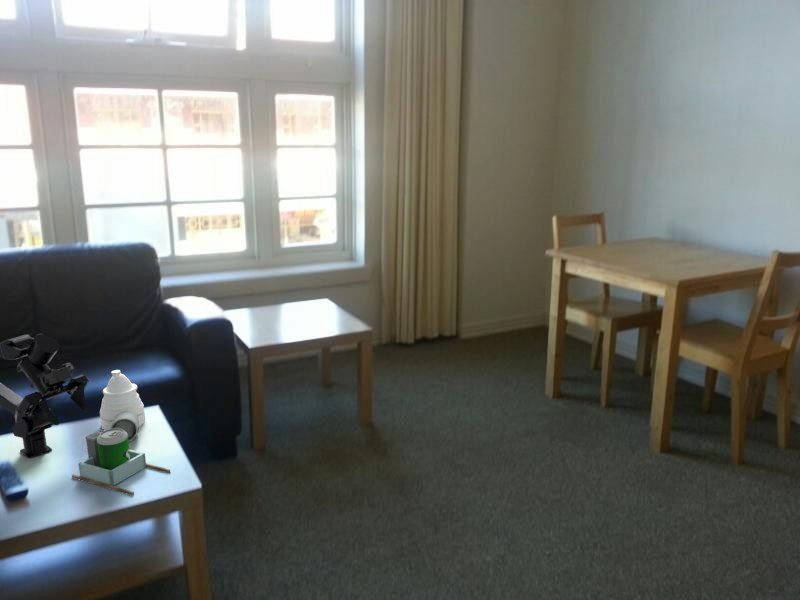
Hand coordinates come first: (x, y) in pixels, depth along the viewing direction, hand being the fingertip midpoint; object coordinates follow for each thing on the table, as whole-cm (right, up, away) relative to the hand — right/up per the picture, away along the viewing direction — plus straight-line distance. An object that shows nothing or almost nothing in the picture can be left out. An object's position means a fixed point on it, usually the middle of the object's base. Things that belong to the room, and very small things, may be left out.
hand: (73, 417), depth 181 cm
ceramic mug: (+6, -10, +19) cm, 22 cm away
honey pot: (+2, -7, +29) cm, 30 cm away
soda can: (+13, -15, -3) cm, 20 cm away
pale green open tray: (+11, -14, -2) cm, 18 cm away
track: (+15, -15, -3) cm, 21 cm away
